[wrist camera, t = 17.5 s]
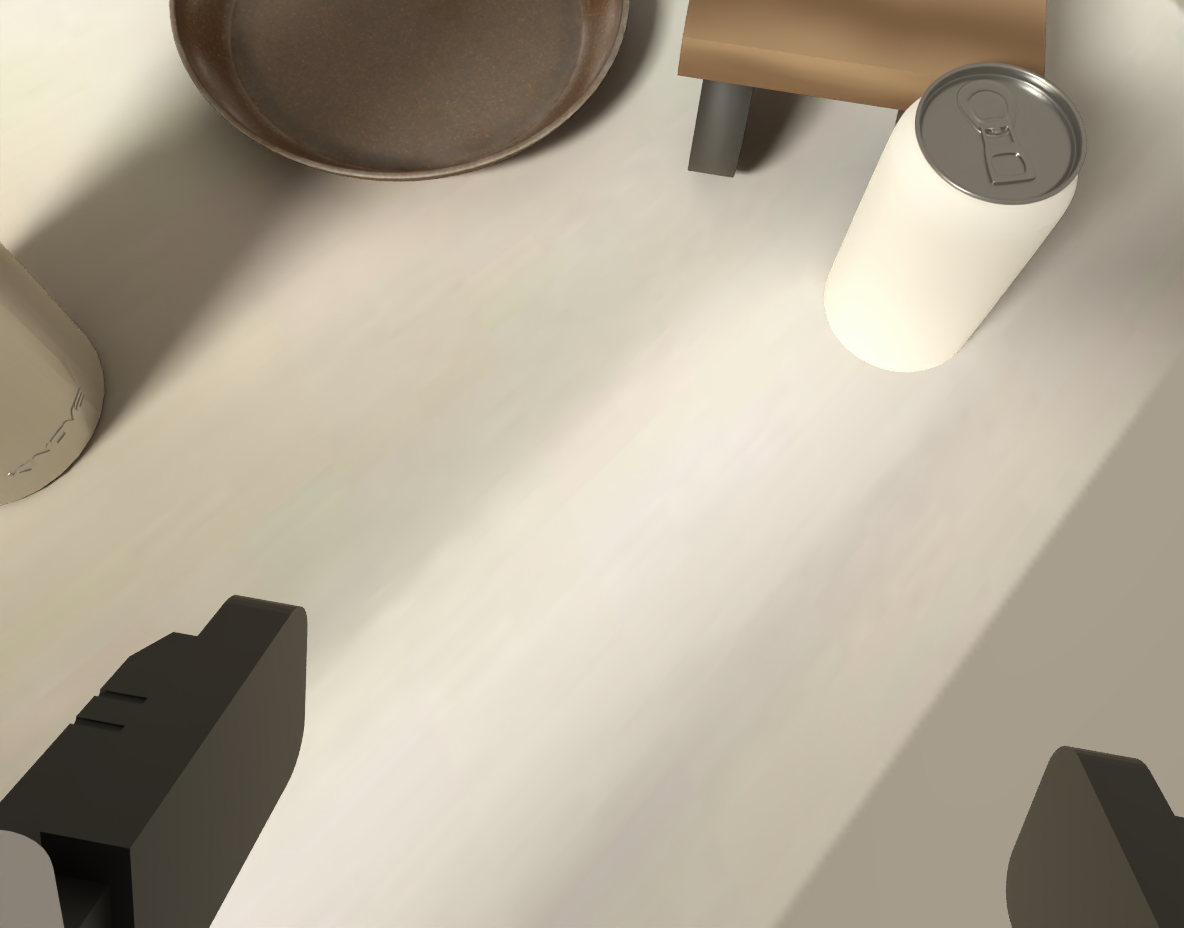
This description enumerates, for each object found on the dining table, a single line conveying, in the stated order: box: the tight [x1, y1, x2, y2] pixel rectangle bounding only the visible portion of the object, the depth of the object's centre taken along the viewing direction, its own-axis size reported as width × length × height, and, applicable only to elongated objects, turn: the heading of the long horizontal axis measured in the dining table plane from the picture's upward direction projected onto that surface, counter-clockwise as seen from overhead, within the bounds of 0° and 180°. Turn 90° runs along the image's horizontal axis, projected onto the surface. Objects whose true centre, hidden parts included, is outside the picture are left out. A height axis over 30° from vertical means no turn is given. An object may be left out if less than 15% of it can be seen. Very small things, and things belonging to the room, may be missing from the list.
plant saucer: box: [169, 0, 630, 181], centre depth 49 cm, size 21×21×3 cm
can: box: [824, 63, 1087, 372], centre depth 40 cm, size 6×6×12 cm
